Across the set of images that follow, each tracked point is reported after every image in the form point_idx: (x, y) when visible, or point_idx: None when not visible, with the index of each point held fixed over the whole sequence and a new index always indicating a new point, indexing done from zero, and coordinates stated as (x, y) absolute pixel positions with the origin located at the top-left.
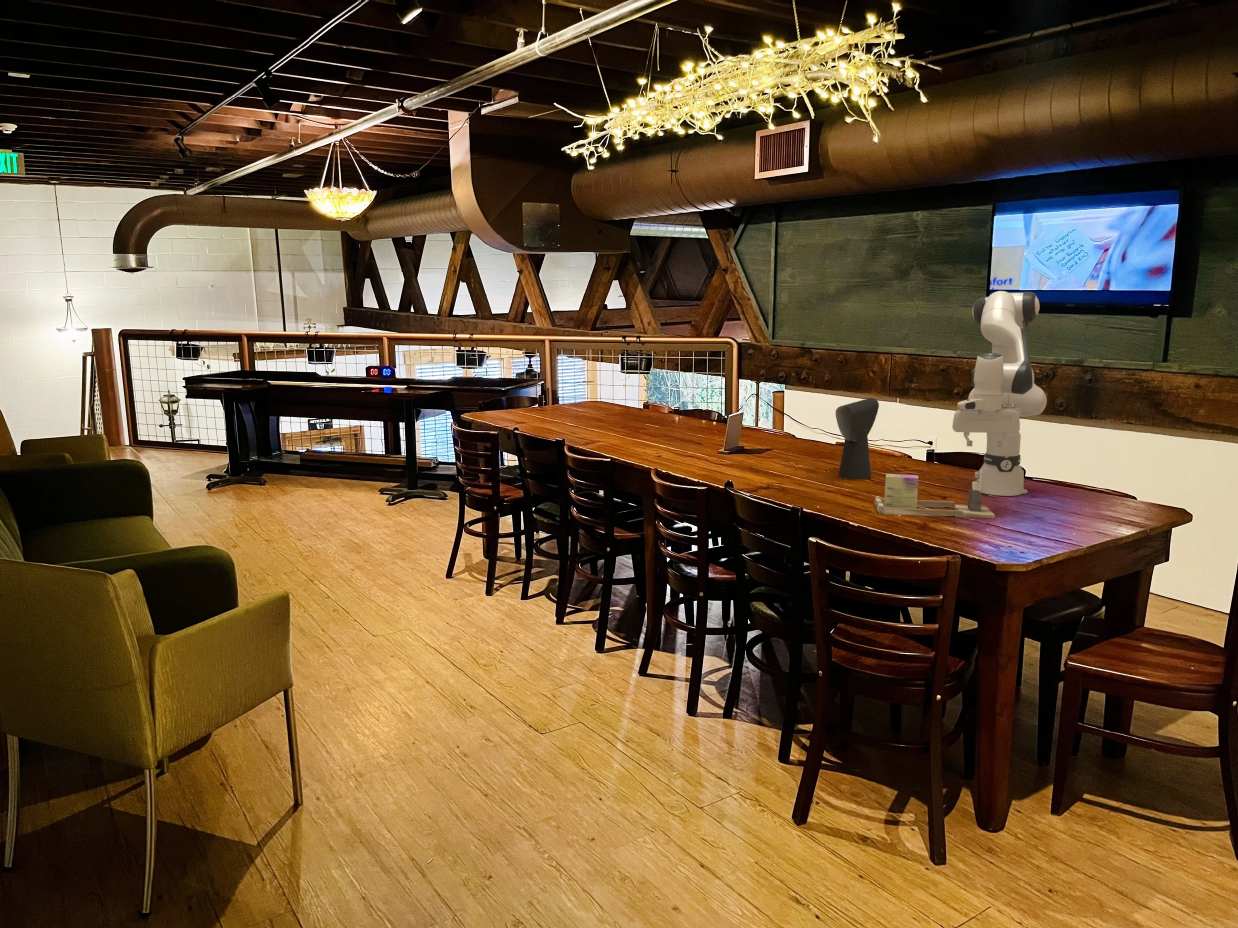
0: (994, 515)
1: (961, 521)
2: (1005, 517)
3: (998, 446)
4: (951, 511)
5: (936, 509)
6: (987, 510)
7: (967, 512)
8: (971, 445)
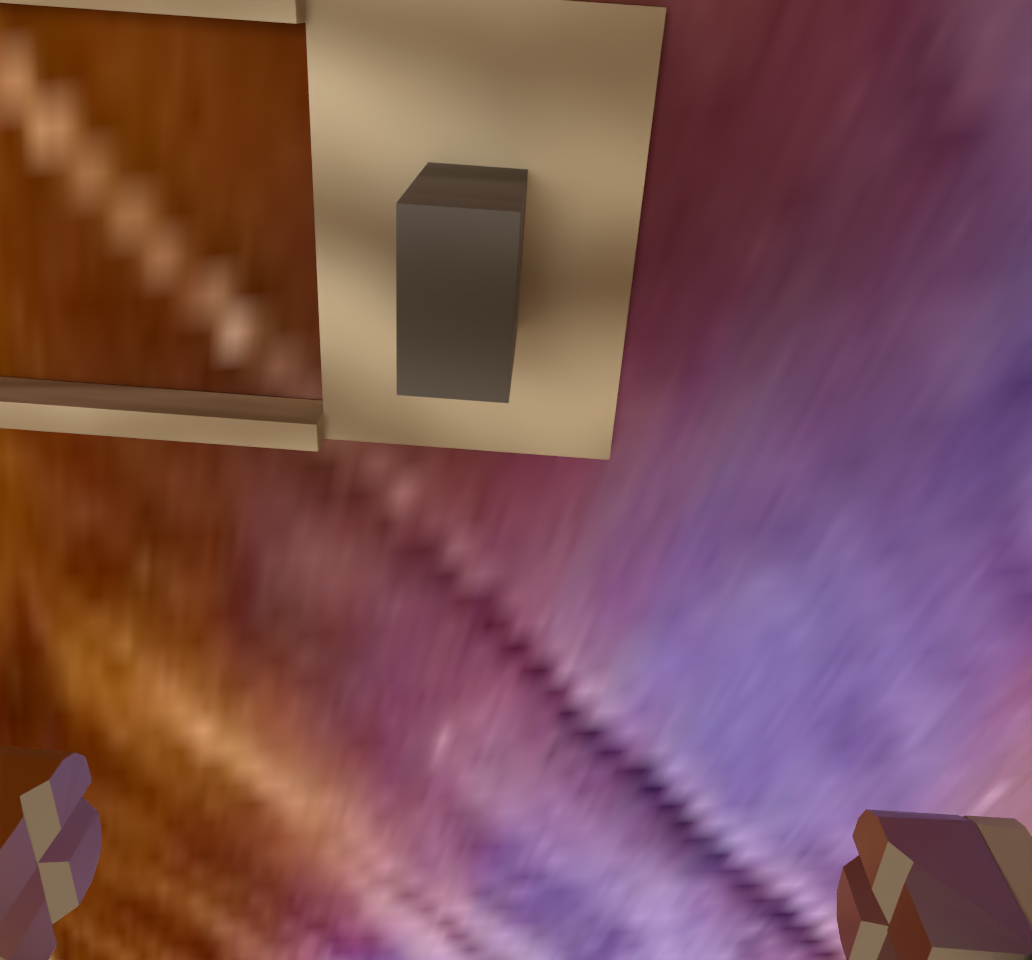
0: (603, 458)
1: (301, 559)
2: (717, 407)
3: (844, 909)
4: (220, 439)
5: (81, 408)
6: (603, 274)
7: (381, 376)
8: (65, 878)
